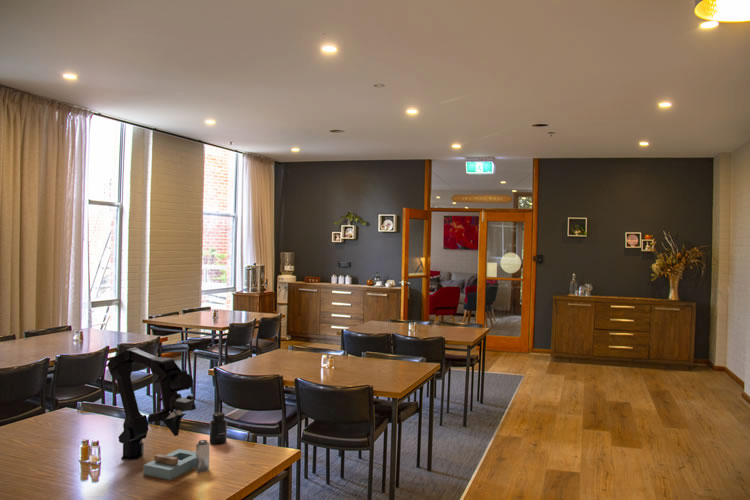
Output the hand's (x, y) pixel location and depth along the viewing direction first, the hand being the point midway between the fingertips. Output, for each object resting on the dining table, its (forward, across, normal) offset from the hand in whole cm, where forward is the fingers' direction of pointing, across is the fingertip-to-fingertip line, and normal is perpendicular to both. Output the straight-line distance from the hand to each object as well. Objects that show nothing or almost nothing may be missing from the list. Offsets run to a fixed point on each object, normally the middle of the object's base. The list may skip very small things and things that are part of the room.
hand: (176, 435), depth 207 cm
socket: (+11, 0, +3) cm, 12 cm away
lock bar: (+8, -5, +2) cm, 10 cm away
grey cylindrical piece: (+14, +3, -7) cm, 16 cm away
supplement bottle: (+10, +29, +7) cm, 32 cm away
